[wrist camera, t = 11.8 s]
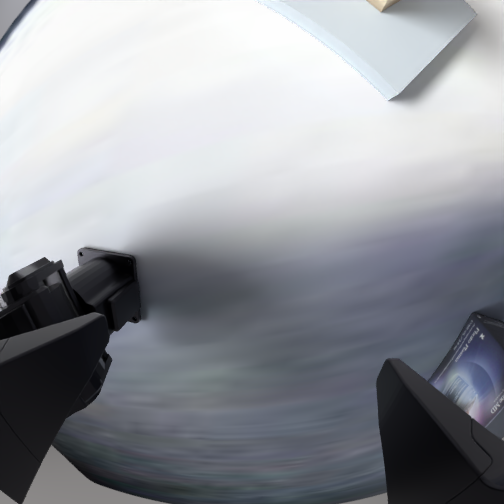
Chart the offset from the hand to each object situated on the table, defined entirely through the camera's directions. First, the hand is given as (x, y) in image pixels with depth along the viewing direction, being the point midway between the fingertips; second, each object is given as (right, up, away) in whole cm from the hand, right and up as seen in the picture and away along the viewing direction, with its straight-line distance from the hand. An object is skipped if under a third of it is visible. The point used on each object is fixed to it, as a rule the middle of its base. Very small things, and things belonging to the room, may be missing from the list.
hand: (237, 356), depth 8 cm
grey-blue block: (+9, +23, +6) cm, 26 cm away
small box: (+23, -8, +14) cm, 28 cm away
